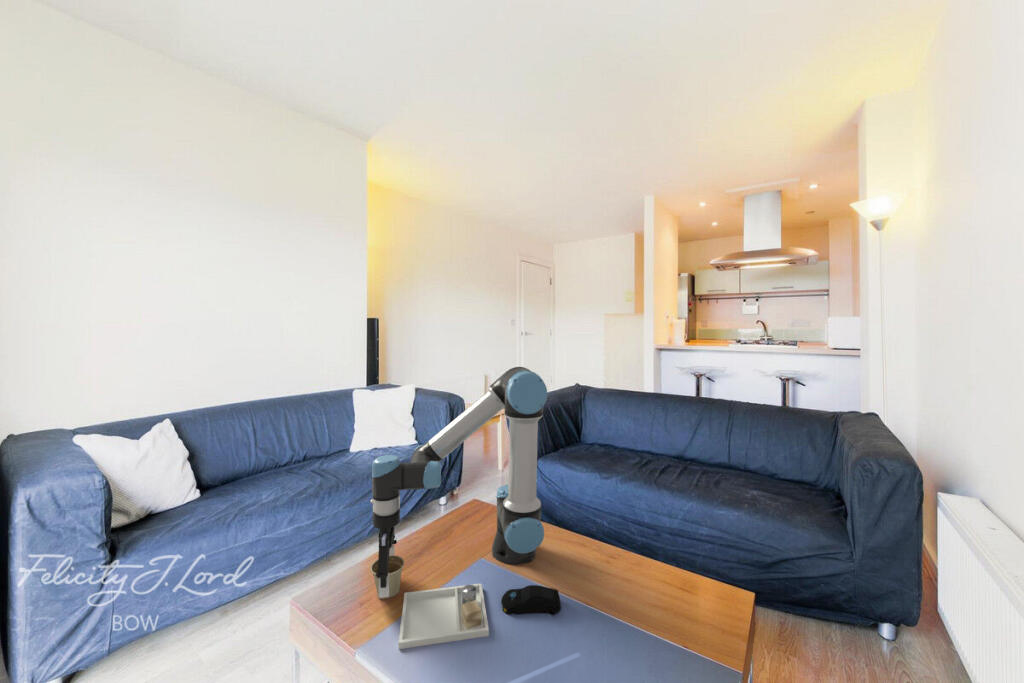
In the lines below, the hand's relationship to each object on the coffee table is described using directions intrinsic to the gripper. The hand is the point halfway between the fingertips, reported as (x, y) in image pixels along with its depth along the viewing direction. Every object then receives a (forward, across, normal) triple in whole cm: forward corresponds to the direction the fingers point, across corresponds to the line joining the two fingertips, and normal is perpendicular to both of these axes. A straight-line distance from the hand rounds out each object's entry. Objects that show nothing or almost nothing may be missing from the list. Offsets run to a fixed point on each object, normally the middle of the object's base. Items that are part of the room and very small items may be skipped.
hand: (387, 580), depth 118 cm
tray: (+4, +13, +16) cm, 21 cm away
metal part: (+3, +10, +23) cm, 25 cm away
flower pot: (+4, 0, 0) cm, 4 cm away
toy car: (+4, +13, +40) cm, 42 cm away
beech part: (+3, +16, +23) cm, 29 cm away
